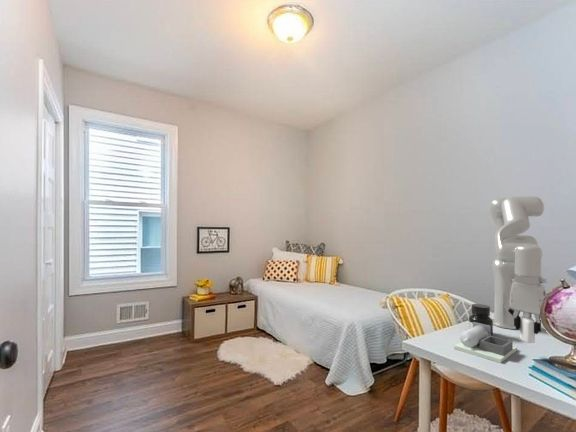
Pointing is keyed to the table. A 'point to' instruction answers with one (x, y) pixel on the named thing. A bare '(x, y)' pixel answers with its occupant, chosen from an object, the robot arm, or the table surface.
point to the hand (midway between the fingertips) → (527, 330)
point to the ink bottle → (481, 316)
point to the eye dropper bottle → (527, 328)
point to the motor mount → (485, 343)
